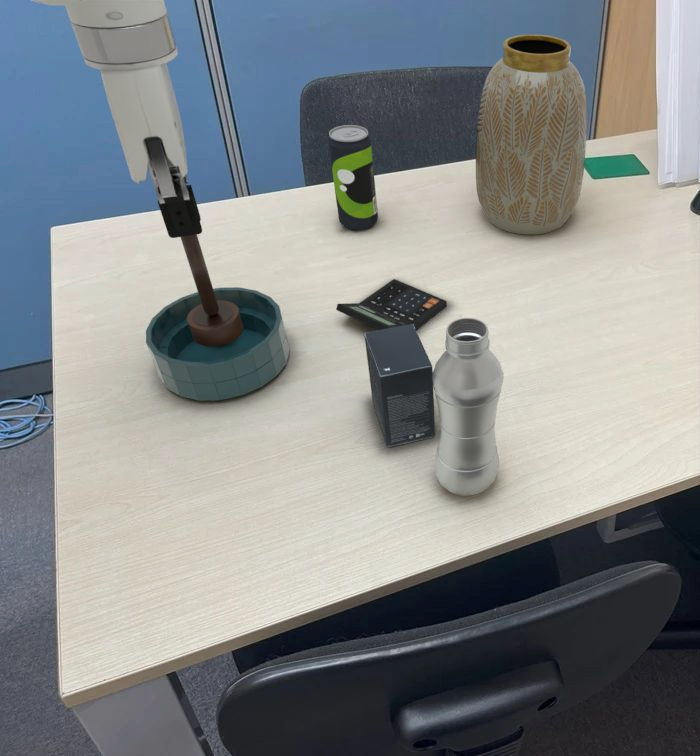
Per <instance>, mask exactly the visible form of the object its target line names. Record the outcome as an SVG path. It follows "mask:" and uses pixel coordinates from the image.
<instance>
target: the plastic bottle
mask: <svg viewBox="0 0 700 756" xmlns="http://www.w3.org/2000/svg"><path fill="white" fill-rule="evenodd" d="M445 329H446V330H445V344H444V346H445V351H444V352H443V353H442V354H441V356H440V357H439V358H438V360H437V361H436V363H435V365H434V367H433V370H432V371H433V375H432V380H433V392H434V397H435V399H436V404H437V410H438V418H439V436H438V446H437V449H436V452H435V456H434V457H435V458H434V466H433V467H434V470H435V474H436V477H437V481H438V483H439V484H440V485H441V486H442V487H443V488H444V489H445V490H446V491H448V492H450V493H452V494H454V495H457V496H461V497H462V496H463V497H470V496H476V495H478V494H480V493H482V492H484V491H486V490H487V489H488V488H490V487H491V486H492V485H493V484H494V482H495V480H496V478H497V475H498V472H499V470H500V469H499V468H500V457H499V451H498V448H497V447H498V446H497V441H496V418H497V410H498V405H499V400H500V396H501V392H502V388H503V383H504V371H503V368H502V365H501V362H500V360H499V359H498V357H496V356H495V354H494V353H493V352H492V350H490V338H489V328H488V325H487V324H486V323H485V322H484V321H482V320H481V319H478V318H473V317H461V318H458V319H455V320H453V321H451V322H450V323H448V325H447V327H446V328H445Z"/></svg>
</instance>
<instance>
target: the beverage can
mask: <svg viewBox="0 0 700 756" xmlns="http://www.w3.org/2000/svg"><path fill="white" fill-rule="evenodd" d="M328 136H329V137H328V138H327V139H328V140H327V144H328V151H329V157H330V164H331V172H332V178H333V180H332V181H333V186H334V194H335V201H336V208H337V215H338V221H339V223H340V225H342V226H343V227H344V228H345V229H347V230H349V231H354V232H361V231H366V230H369V229H372V228H373V227H374V226H375V225H376V224H377V222H378V220H379V214H378V213H379V212H378V211H379V210H378V203H377V202H378V201H377V192H376V191H377V190H376V181H375V171H374V159H373V151H372V140H371V137H370V136H369V131H368V129H367V128H366V127H363V126H361V125H356V124H346V125H345V124H344V125H339V126H335V127H333V128H332V129H330V130H329V132H328Z"/></svg>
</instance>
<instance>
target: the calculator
mask: <svg viewBox="0 0 700 756" xmlns="http://www.w3.org/2000/svg"><path fill="white" fill-rule="evenodd" d="M447 303H448V302H447V300H446V299H443V298H440V297H438V296H436V295H434V294H431V293H428V292H426V291H424V290H421V289H419V288H416V287H415V286H412V285H410V284H407V283H405V282H403V281H400V280H398V279H396V278H393V279H391V280H390V281H389V282H388V283H386V284H385V285H383V286H382V287H380V288H379V289H377V290H376V291H374V292H373V293H372V294H370V295H369V296H367V297H366V298H365V299H363V300H362V301H360V302H358V303H356V302H353V303H337V304H336V308H335V310H336V311H337V312H340V313H342V314H344V315H346V316H348V317H350V318H352V319H354V320H357V321H359V322H362V323H363V324H365V325H368V326H370V327H372V328H374V329H376V330H382V329H388V328H393V327H399V326H404V325H410V324H413V325H414V327H415V329H416V331H417V330H419V329H420V328H422V326H424V325H425V324H426V323H427V322H430V320H432V318H434V317H435V316H436V315H437V314H439V313H440V312H441V311H442V310H444V309H446V308H447Z"/></svg>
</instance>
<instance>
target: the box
mask: <svg viewBox="0 0 700 756" xmlns="http://www.w3.org/2000/svg"><path fill="white" fill-rule="evenodd" d="M363 336H364V343H365V351H366V360H367V367H368V376H369V383H370V392H371V401H372V406H373V408H374V411H375V416H376V417H377V421H378V424H379V427H380V430H381V432H382V436H383V438H384V442H385V444H386V447H388V448H391V447H395V446H400V445H405V444H408V443H409V444H410V443H414V442H418V441H422V440H426V439H431V438H434V437H435V436H436V426H435V425H436V424H435V398H434V397H435V394H434V387H433V380H432V375H433V371H434V370H433V364H432V362H431V360H430V358H429V356H428V353H427V351H426V349H425V347H424V344H423V343H422V340H421V338H420V336H419V334H418V332H417V330H416V329H415V327H414V325H413V324H410V325H404V326H399V327H393V328H388V329H382V330H378V329H376V330H371V331H365V332H364V334H363Z"/></svg>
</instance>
